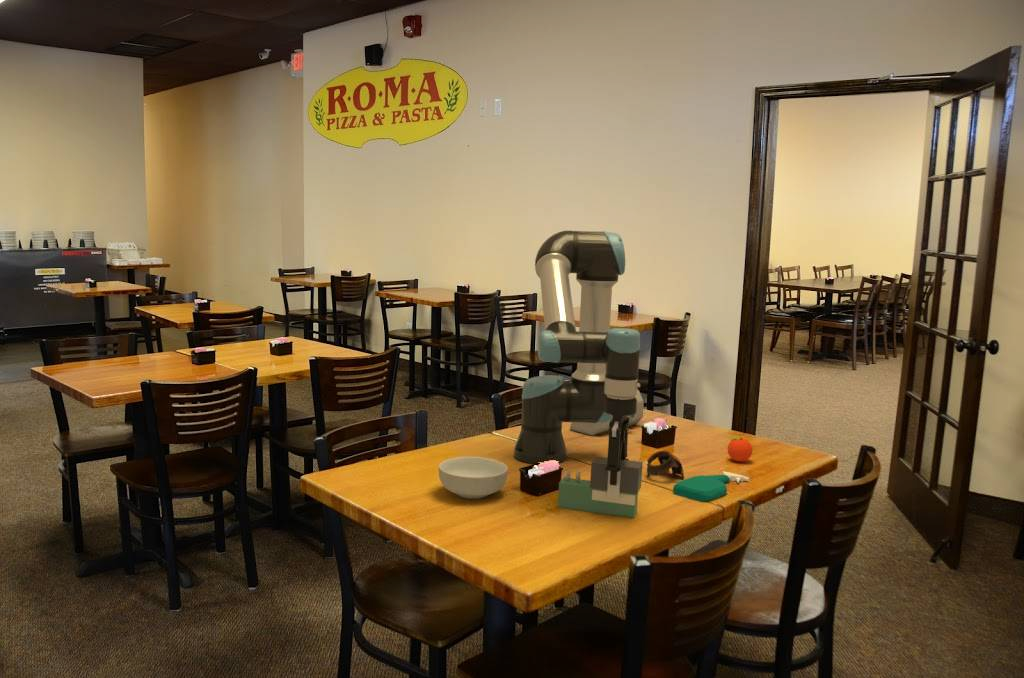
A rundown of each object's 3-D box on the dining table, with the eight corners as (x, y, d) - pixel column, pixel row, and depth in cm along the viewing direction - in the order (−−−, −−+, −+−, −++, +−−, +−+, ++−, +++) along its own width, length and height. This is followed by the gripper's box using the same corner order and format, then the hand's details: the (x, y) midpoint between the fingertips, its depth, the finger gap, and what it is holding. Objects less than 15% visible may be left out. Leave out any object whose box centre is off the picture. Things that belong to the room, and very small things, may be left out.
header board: (557, 507, 190) (559, 472, 188) (562, 501, 194) (564, 467, 193) (633, 518, 184) (635, 482, 183) (636, 511, 189) (639, 476, 188)
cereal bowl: (454, 509, 186) (455, 479, 185) (427, 487, 201) (428, 460, 200) (518, 499, 194) (519, 471, 193) (488, 479, 209) (489, 453, 208)
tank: (607, 441, 251) (609, 402, 249) (568, 430, 262) (570, 393, 260) (654, 429, 268) (656, 392, 266) (616, 419, 279) (618, 384, 278)
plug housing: (590, 487, 186) (591, 462, 185) (594, 480, 191) (596, 456, 190) (637, 494, 183) (638, 468, 182) (641, 486, 188) (642, 461, 187)
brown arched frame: (689, 485, 211) (678, 460, 209) (656, 497, 213) (644, 473, 211) (682, 461, 222) (671, 437, 220) (650, 473, 224) (639, 449, 222)
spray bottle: (668, 494, 203) (717, 476, 221) (706, 505, 196) (754, 485, 214) (669, 482, 203) (718, 465, 221) (707, 493, 195) (755, 475, 213)
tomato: (721, 462, 232) (723, 438, 231) (724, 456, 238) (726, 432, 237) (750, 466, 229) (752, 441, 228) (752, 460, 235) (754, 436, 234)
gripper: (630, 405, 174) (624, 508, 177) (642, 390, 192) (637, 484, 195) (596, 402, 176) (591, 503, 179) (611, 387, 194) (607, 480, 197)
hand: (615, 493), depth 187 cm, fingers closed on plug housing, 6 cm apart
